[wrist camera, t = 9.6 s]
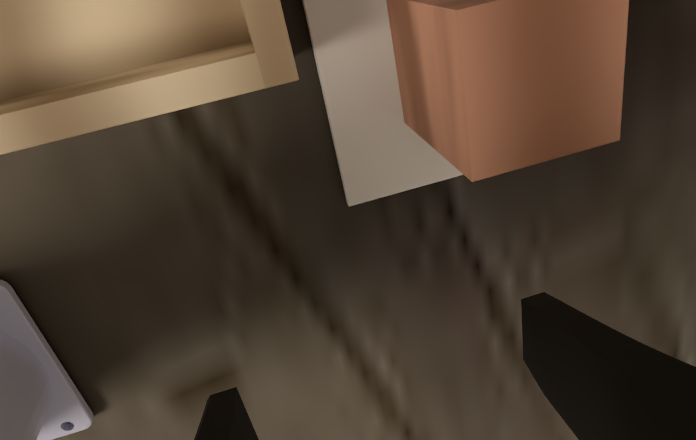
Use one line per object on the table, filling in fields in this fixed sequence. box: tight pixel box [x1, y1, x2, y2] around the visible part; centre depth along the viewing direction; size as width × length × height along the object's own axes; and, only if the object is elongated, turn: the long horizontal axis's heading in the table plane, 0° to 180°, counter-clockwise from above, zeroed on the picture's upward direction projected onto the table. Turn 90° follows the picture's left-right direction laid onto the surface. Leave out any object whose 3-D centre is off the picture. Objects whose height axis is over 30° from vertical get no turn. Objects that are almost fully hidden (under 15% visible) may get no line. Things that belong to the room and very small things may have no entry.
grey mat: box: [302, 0, 463, 206], centre depth 19 cm, size 10×10×1 cm
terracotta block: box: [386, 0, 629, 182], centre depth 16 cm, size 4×4×6 cm
